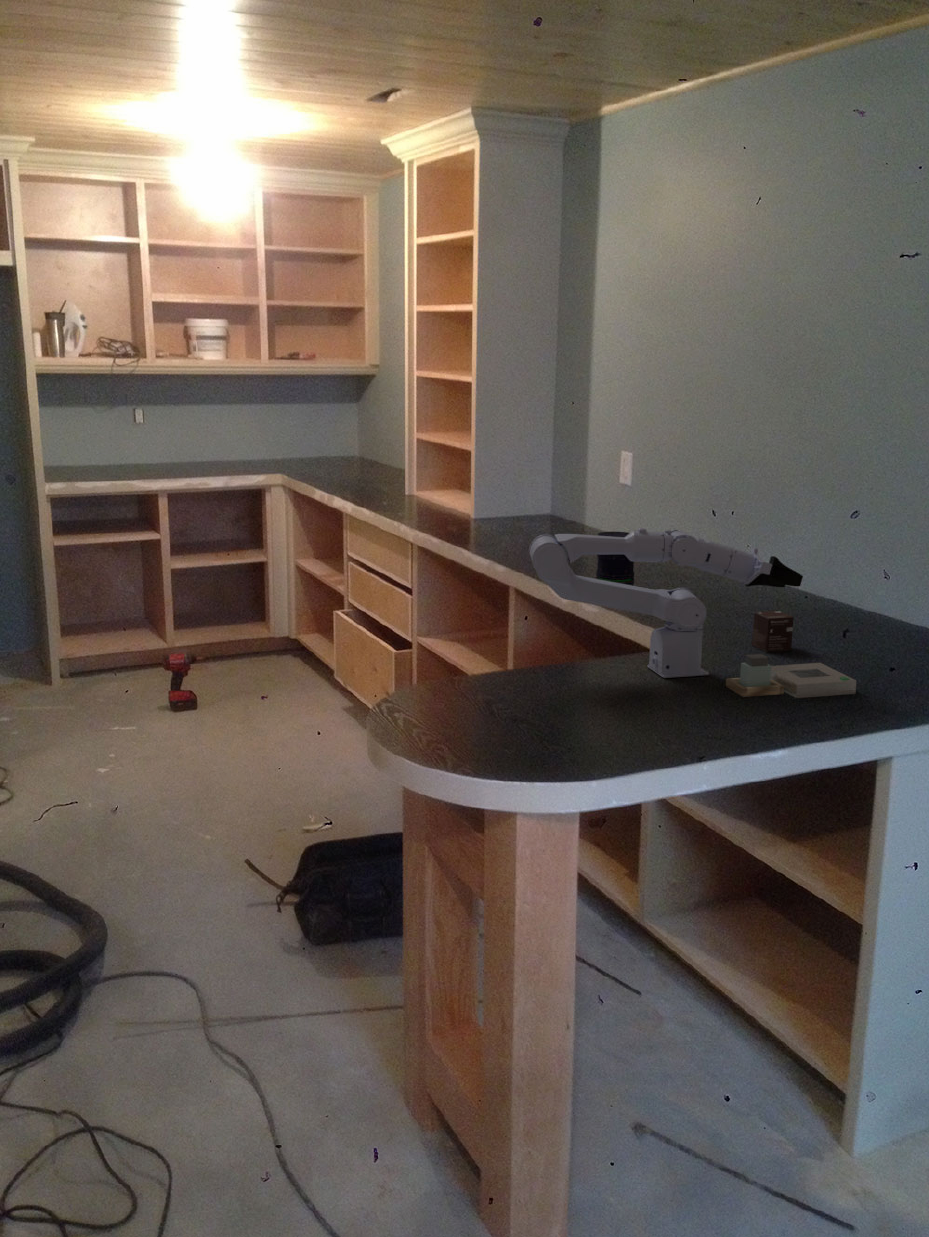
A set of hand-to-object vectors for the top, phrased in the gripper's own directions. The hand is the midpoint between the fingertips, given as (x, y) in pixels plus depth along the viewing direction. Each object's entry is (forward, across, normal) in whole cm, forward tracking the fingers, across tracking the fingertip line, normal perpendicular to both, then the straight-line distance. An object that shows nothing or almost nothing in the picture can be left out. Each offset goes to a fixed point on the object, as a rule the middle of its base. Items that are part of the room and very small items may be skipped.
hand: (793, 581), depth 210 cm
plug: (-4, -7, +22) cm, 23 cm away
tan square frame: (-4, -7, +22) cm, 23 cm away
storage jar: (-17, +75, +6) cm, 77 cm away
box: (+7, +21, +12) cm, 25 cm away
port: (+6, -5, +18) cm, 20 cm away
